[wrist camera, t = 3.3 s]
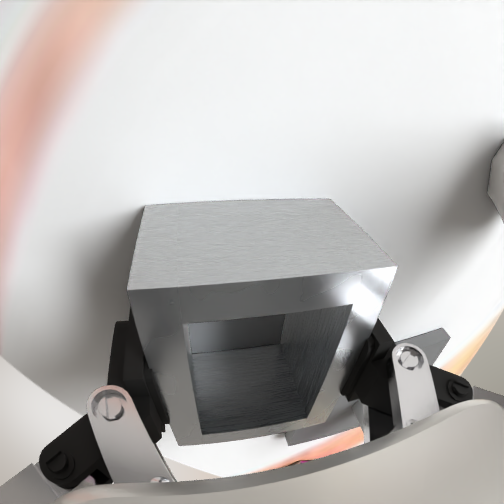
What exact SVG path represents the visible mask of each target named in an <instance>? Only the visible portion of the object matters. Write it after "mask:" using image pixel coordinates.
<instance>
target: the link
mask: <svg viewBox="0 0 504 504" xmlns="http://www.w3.org/2000/svg"><path fill="white" fill-rule="evenodd" d="M397 268H398V265H397V264H396V263H395V262H394V261H393V260H392V259H391V258H390V257H389V256H388V255H387V254H386V253H385V252H384V251H383V250H382V249H381V248H380V247H379V246H378V245H377V244H376V243H375V242H374V241H373V240H372V239H371V238H370V237H369V236H368V235H367V234H366V233H365V232H364V231H363V230H362V229H361V228H360V227H359V226H358V225H357V224H356V223H355V222H354V221H353V220H352V219H351V218H350V217H349V216H348V215H347V214H346V213H345V212H344V211H343V210H342V209H341V208H340V207H339V206H338V205H336V204H335V203H334V202H333V201H332V200H331V199H272V200H237V201H212V202H192V203H175V204H160V205H146V206H145V209H144V212H143V216H142V220H141V225H140V229H139V233H138V237H137V242H136V246H135V251H134V256H133V260H132V265H131V270H130V276H129V281H128V286H127V293H128V297H129V301H130V305H131V309H132V313H133V316H134V320H135V324H136V327H137V331H138V334H139V338H140V341H141V344H142V348H143V351H144V354H145V357H146V360H147V363H148V366H149V369H152V370H153V373H154V376H155V379H156V382H157V385H158V388H159V391H160V394H161V397H162V399H163V402H164V405H165V408H166V410H167V413H168V416H169V418H170V426H171V429H172V431H173V434H174V436H175V438H176V441H177V443H178V445H179V446H186V445H199V444H210V443H219V442H228V441H236V440H243V439H249V438H255V437H261V436H267V435H272V434H278V433H282V432H287V431H292V430H296V429H301V428H305V427H309V426H313V425H317V424H321V423H325V421H326V420H327V418H328V416H329V415H330V413H331V411H332V409H333V408H334V406H335V404H336V402H337V400H338V399H339V397H340V395H341V394H340V392H341V390H342V388H343V387H344V385H345V383H346V381H347V379H348V377H349V375H350V373H351V371H352V369H353V367H354V365H355V363H356V361H357V359H358V357H359V355H360V352H361V350H362V348H363V346H364V344H365V342H366V339H369V337H370V335H371V332H372V330H373V328H374V326H375V323H376V321H377V319H378V316H379V314H380V312H381V309H382V307H383V304H384V302H385V299H386V297H387V294H388V292H389V289H390V287H391V284H392V281H393V279H394V276H395V273H396V270H397ZM279 314H285V319H284V325H283V330H282V336H281V341H280V344H275V345H268V346H261V347H253V348H245V349H236V350H227V351H217V352H207V353H195V354H192V350H191V343H190V335H189V327H188V323H200V322H212V321H223V320H233V319H243V318H253V317H262V316H270V315H279Z"/></svg>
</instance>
